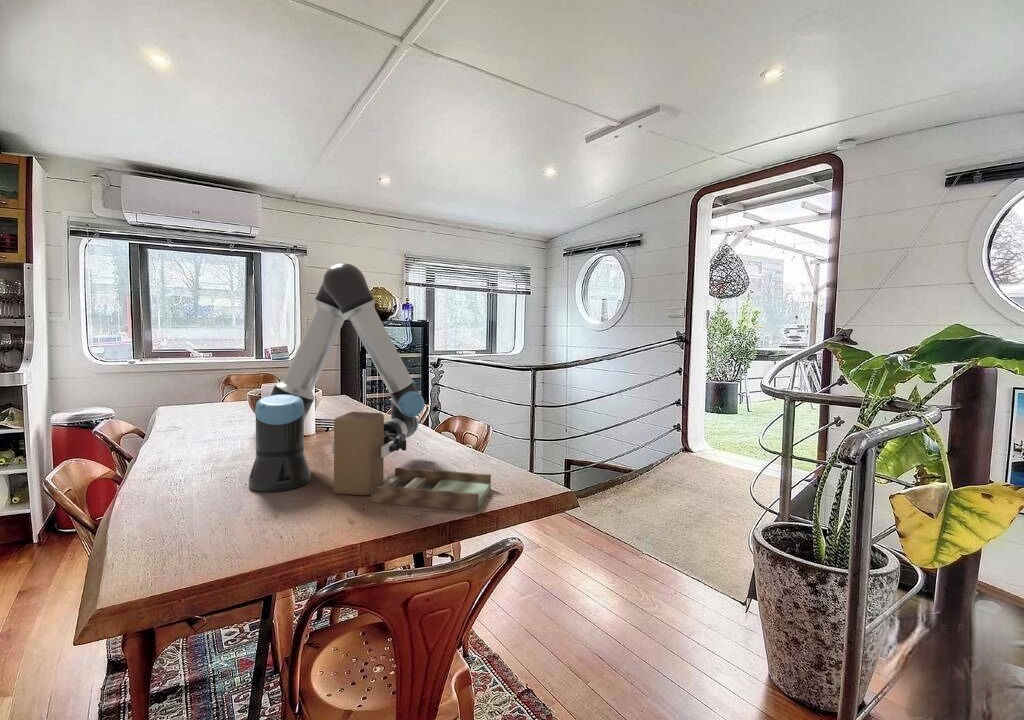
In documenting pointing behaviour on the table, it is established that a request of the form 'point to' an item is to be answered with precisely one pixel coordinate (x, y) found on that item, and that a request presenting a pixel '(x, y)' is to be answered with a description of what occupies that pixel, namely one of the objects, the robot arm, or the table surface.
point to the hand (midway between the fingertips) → (357, 450)
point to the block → (358, 452)
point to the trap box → (434, 489)
